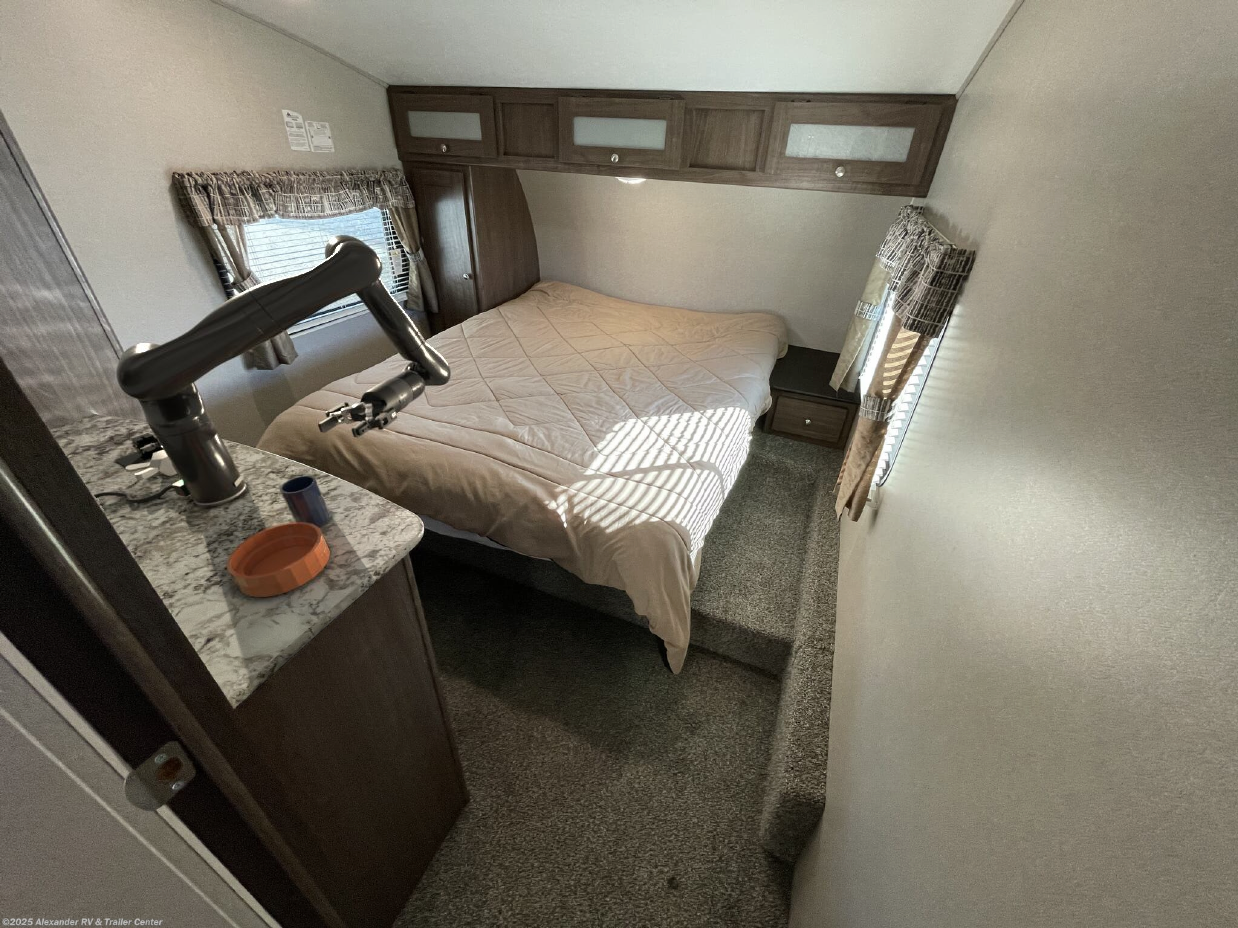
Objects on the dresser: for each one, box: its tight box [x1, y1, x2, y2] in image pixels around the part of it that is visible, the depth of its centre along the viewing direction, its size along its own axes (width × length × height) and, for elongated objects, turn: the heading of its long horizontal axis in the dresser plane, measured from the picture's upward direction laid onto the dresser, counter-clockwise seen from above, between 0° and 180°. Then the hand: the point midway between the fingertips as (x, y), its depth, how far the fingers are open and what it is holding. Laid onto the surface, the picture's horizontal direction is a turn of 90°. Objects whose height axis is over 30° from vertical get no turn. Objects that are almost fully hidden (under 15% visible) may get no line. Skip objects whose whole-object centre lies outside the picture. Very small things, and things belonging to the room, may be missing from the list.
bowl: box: [226, 521, 331, 598], centre depth 86 cm, size 14×14×5 cm
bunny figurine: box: [125, 450, 178, 481], centre depth 115 cm, size 10×5×15 cm
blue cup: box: [279, 475, 331, 528], centre depth 96 cm, size 6×6×9 cm
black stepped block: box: [114, 432, 164, 468], centre depth 122 cm, size 12×7×5 cm, turn 151°
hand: (337, 431), depth 101 cm, fingers open, 8 cm apart
